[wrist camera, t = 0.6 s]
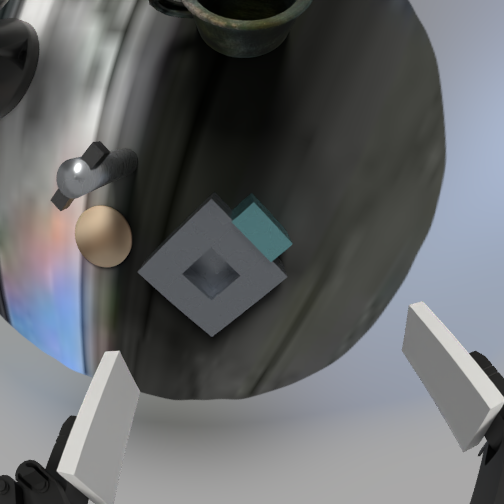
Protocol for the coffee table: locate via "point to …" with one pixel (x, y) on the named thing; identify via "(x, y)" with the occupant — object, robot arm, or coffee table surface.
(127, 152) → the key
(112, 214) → the coaster
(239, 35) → the mug
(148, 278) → the block
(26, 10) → the coffee table surface
